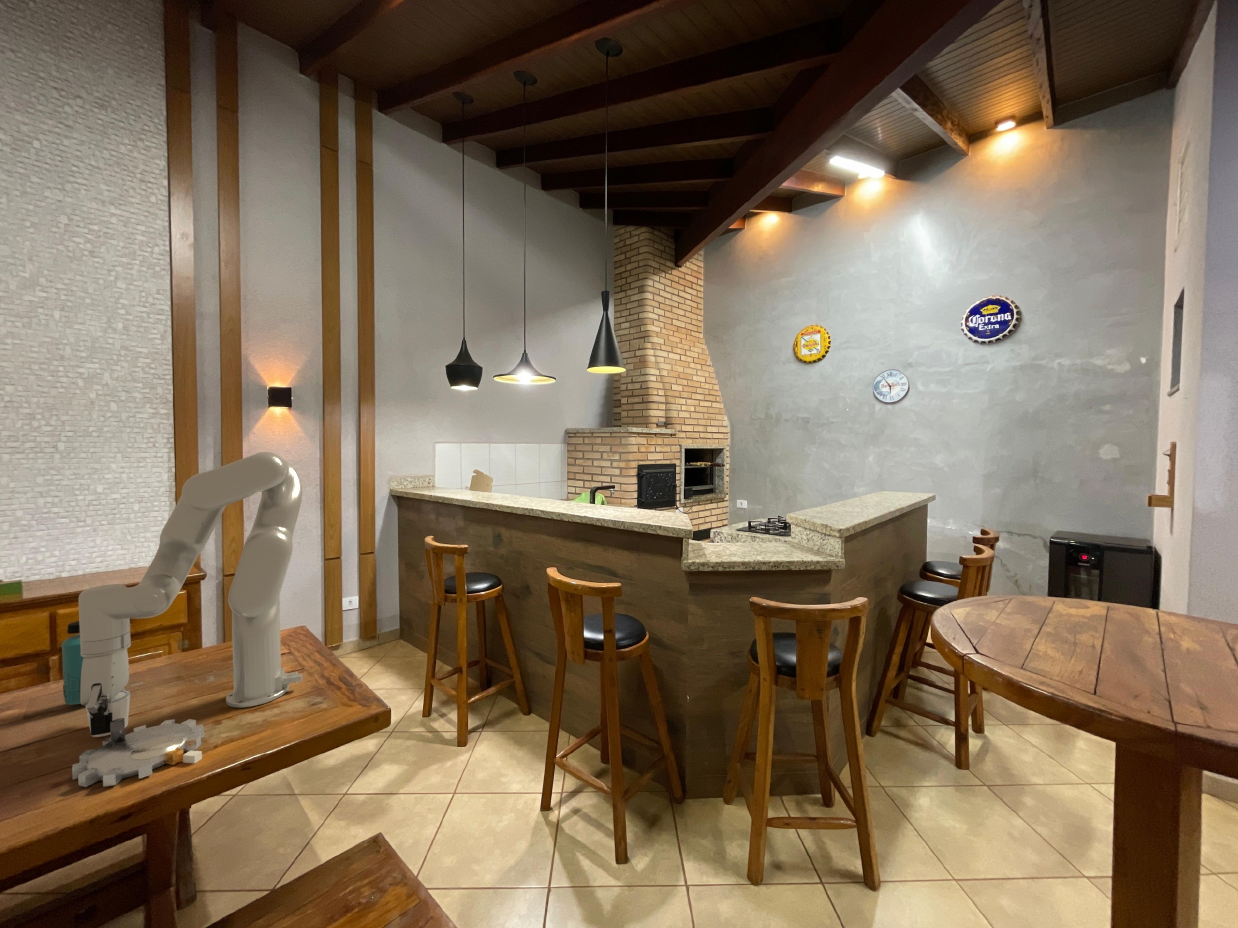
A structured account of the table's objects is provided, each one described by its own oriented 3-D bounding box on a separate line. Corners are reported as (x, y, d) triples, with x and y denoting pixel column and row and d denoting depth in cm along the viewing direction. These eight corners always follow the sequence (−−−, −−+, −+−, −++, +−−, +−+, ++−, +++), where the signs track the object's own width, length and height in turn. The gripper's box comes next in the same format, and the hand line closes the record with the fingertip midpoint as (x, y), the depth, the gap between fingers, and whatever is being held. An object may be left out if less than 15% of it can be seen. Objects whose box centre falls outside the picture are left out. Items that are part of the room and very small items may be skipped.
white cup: (102, 740, 104) (101, 707, 103) (77, 736, 105) (76, 704, 105) (140, 722, 110) (139, 691, 110) (116, 718, 112) (115, 688, 111)
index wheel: (226, 734, 105) (225, 706, 105) (120, 794, 87) (118, 761, 87) (160, 722, 109) (159, 696, 109) (46, 777, 91) (44, 746, 91)
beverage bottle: (110, 699, 120) (107, 618, 119) (73, 713, 114) (69, 627, 113) (94, 695, 122) (91, 615, 121) (56, 708, 116) (52, 624, 115)
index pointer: (183, 762, 96) (182, 754, 96) (190, 757, 98) (190, 750, 98) (194, 763, 96) (194, 755, 96) (202, 758, 98) (201, 751, 98)
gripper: (100, 633, 113) (103, 710, 114) (60, 662, 98) (64, 751, 98) (144, 627, 116) (147, 702, 117) (112, 655, 101) (115, 741, 102)
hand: (109, 724), depth 108 cm, fingers closed on white cup, 6 cm apart
